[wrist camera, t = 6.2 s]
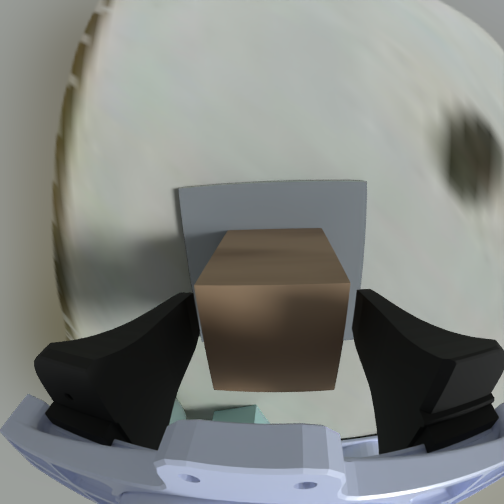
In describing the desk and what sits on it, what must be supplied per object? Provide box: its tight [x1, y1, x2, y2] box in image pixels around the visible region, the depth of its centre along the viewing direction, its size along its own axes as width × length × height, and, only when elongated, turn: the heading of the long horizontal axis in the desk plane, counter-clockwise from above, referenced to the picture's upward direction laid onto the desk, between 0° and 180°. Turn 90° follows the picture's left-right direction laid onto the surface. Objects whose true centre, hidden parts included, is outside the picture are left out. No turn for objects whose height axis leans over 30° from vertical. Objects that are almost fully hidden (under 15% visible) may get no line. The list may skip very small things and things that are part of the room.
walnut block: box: [194, 228, 350, 392], centre depth 13 cm, size 5×5×6 cm
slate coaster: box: [178, 180, 367, 342], centre depth 16 cm, size 10×10×1 cm
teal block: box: [212, 405, 270, 424], centre depth 20 cm, size 4×4×4 cm
